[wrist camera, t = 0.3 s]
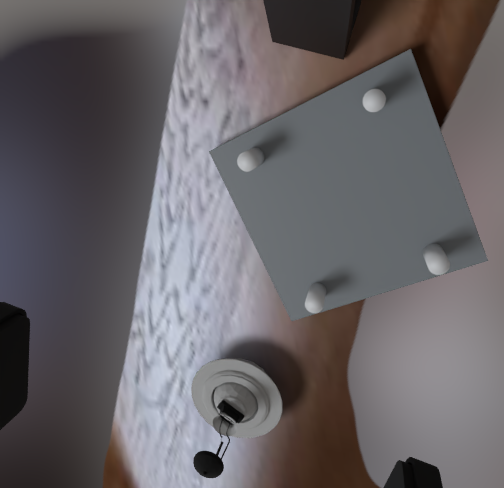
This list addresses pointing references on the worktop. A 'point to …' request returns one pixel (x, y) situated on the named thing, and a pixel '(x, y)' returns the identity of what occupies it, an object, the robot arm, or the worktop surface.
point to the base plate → (352, 192)
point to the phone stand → (313, 24)
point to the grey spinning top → (234, 405)
